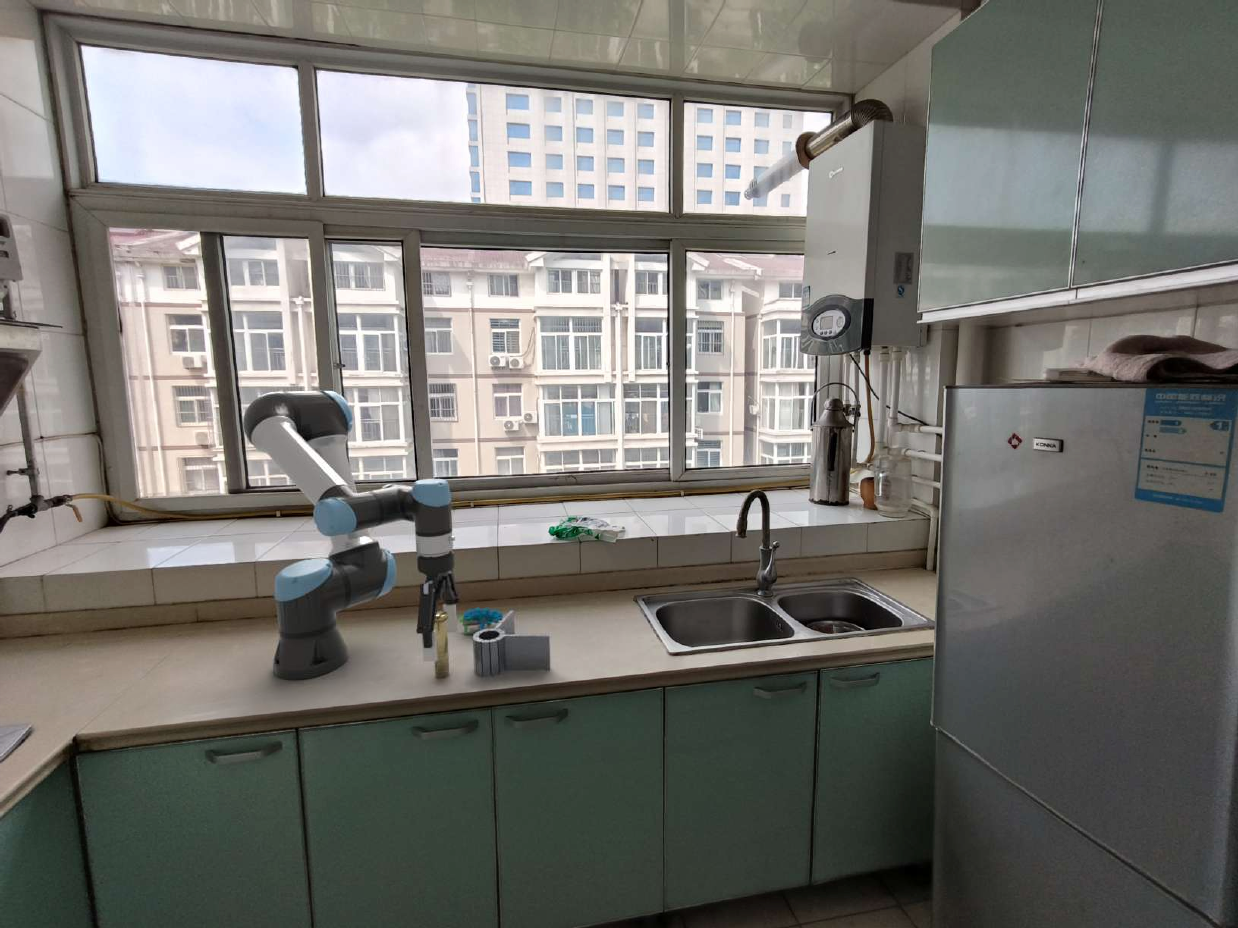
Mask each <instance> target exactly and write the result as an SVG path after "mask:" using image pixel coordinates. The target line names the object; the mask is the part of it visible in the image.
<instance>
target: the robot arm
mask: <svg viewBox="0 0 1238 928" xmlns="http://www.w3.org/2000/svg"><path fill="white" fill-rule="evenodd" d="M349 405H350V404H349V403H348V402H347V401H346V398H344V396H342V395H341V394H339V393H338V392H335V391H333V390H322V389H321V390H320V389H315V390H309V391H308V390H305V391H274V392H273V391H271V392H268V393H264V394H262V395H260V396H259V397H257V398H255V399H254V400H253V401H252V402H251V403H250V404H249V405H248V406H247V408H246V410H245V413H244V416H243V421H242V422H243V423H242V425H243V426H242V427H243V432H244V434H245V436H246V439H247V440H248V441H249V442H250V444H251V445H252V446H253V447H254V448H255V449H256V450H257V451H259V452H261V453H264V454H267V455H268V457H270V459H271V460H272V461H273V462H274V463H275V464H276V465H277V466H278V467H279V469H281V470H282V472H283V473H284V474H285V475H286V477H288V479H289V480H291V481H292V483H294V485H295V486H296V487H297V488H298V489H299V490H300V491H301V492H302V494H303V495H304V496H305V497H306V498H307V499H308V500H309V501H310V502H311V503H312V505H313V506H314V508H313V513H312V514H313V522H314V524H316V529H317V530H318V532H319V533H320V534H321V535H323V536H325V537H329V538H330V542H331V545H332V547H331V548H332V549H331V550H330V551H329V553H328V558H323V557H316V558H315V557H314V558H311V559H304V560H300V561H297V562H294V563H292V564H290V565H288V566H286V567H284V568H282V569H281V570H280V571H279V572H278V574H277V575H276V576H275V579H274V594H273V596H274V599H275V607H276V615H277V625H278V633H279V634H278V636H279V638H278V641H277V642H278V643H277V645H276V649H275V654H274V658H273V661H272V666H273V674H274V675H275V676H276V677H278V678H280V679H284V680H294V681H295V680H303V679H304V680H305V679H310V678H314V677H315V678H316V677H318V676H322V675H324V674H327V673H330V672H333V671H334V670H336V669H337V668H339V667H341V666H342V665H343V664H345V662H346V661H347V660H348V658H349V657H348V656H349V653H348V646H347V643H346V641H345V640H344V637H343V635H342V633H341V631H340V629H339V627H338V623H337V612H340V611H343V610H346V609H349V608H352V607H355V606H357V605H360V604H362V603H366V602H369V601H373V600H376V599H378V598H380V597H383V596H384V595H387V594H388V593H389V592H390V591H391V590H392V589H393V587H394V585H395V582H396V580H397V564H396V560H395V558H394V555H393V553H391V552H390V550H389V549H387V548H384V547H381V545H380V543H379V540H377V539H376V538H373V537H372V536H371V535H370V531H369V529H370V528H374V527H379V526H382V525H383V526H384V525H388V524H392V523H395V522H400V521H406V522H412V523H414V532H415V551H416V553H417V556H416V559H417V562H416V563H417V571H418V572H419V573H420V574H423V575H425V576H426V580H425V581H424V583H420V585H419V603H418V612H417V613H418V614H417V624H416V634H418V635H419V634H421V643H422V644H421V645H422V646H421V647H422V656H423V657H422V658H423V662H435V661H437V660H438V656H437V640H436V630H434V625H435V620H436V614H437V612H438V607H439V602H440V601H441V600H442V601H443V603H444V604H442V611H445V612H447V613H448V619H447V633H457V632H458V623H457V622H458V619H457V605H456V604H459V603H460V597H459V590H458V587H457V583H456V579H455V575H454V571H453V569H454V568H455V553H454V551H453V549H454V541H456V537H455V536H453V520H452V519H453V516H452V496H451V490H450V484H449V482H448V481H447V480H446V479H442V478H426V479H419V480H416V481H415V482H413V483H412V485H406V484H402V483H389V484H385V485H383V486H382V487H381V488H379V489H375V490H369V491H364V492H363V491H362V492H358V491H357V488H356V487H357V486H356V483H355V479H354V477H353V474H352V470H351V467H350V462H349V459H348V456H347V452H346V450H345V449H346V448H345V444H346V442H347V441H348V440H349V436H348V434H350V432H351V431H352V429H353V422H352V421H353V413H352V409H351V408H350V407H351V406H349Z"/></svg>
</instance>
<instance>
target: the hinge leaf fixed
mask: <svg viewBox="0 0 1238 928" xmlns="http://www.w3.org/2000/svg"><path fill="white" fill-rule="evenodd" d="M550 638H551V636H550V634H519V633H518V634H516V633H515V634H506V633H505V632H504V631H503V630H501V629H496V628H495V627H493V628H491V627H490V628H485V629H484V630H480V629H479V630H478V631H477V632H475V633H474V634H473V636H472V650H473V667H474V668H473V670H474V673H475V674H476V675H478V676H479V677H484V678H485V677H487V678H488V677H489V678H490V677H495V676H498V675H501V674H502V673H504V672H505V671H507V670H509V671H510V670H512V671H513V670H519V671H520V670H523V671H524V670H526V671H528V670H532V671H533V670H535V671H536V670H539V671H544V670H545V671H546V670H547V671H550V670H551V639H550Z"/></svg>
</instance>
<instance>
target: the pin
mask: <svg viewBox="0 0 1238 928" xmlns="http://www.w3.org/2000/svg"><path fill="white" fill-rule="evenodd" d="M447 619H448V613H447V612H445V611H443V610H441V611H440V610H439V611H437V614H436V620H435V625H434V630H436V640H437V656H438V660H437V661H434V675H435V676H434V677H435V678H436V679H439V680H440V679H446V678H448V677H449V676H450V661H449V655H450V654H449V641H448V632H447Z"/></svg>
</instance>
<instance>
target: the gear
mask: <svg viewBox="0 0 1238 928" xmlns="http://www.w3.org/2000/svg"><path fill="white" fill-rule="evenodd" d="M483 609H484V610H483ZM483 609H481V608H480V607H475V608H474V609H468V610H467V612H464V613H463V615H460V616H459V623H462V626H463V627H464V629H463V635H467V634H468V627H472V626H479V625H480V627H479V628H480V629H479V631H480V630H484V629H486V628H485V627H486V625H492V623H494V624H498V623H499V622H500V621H501V620H502V619H503V618H504V613H503V612H501V611H499V610H498V609H495V608H494V609H492V611H490V609H491V608H490V607H484V608H483Z"/></svg>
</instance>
